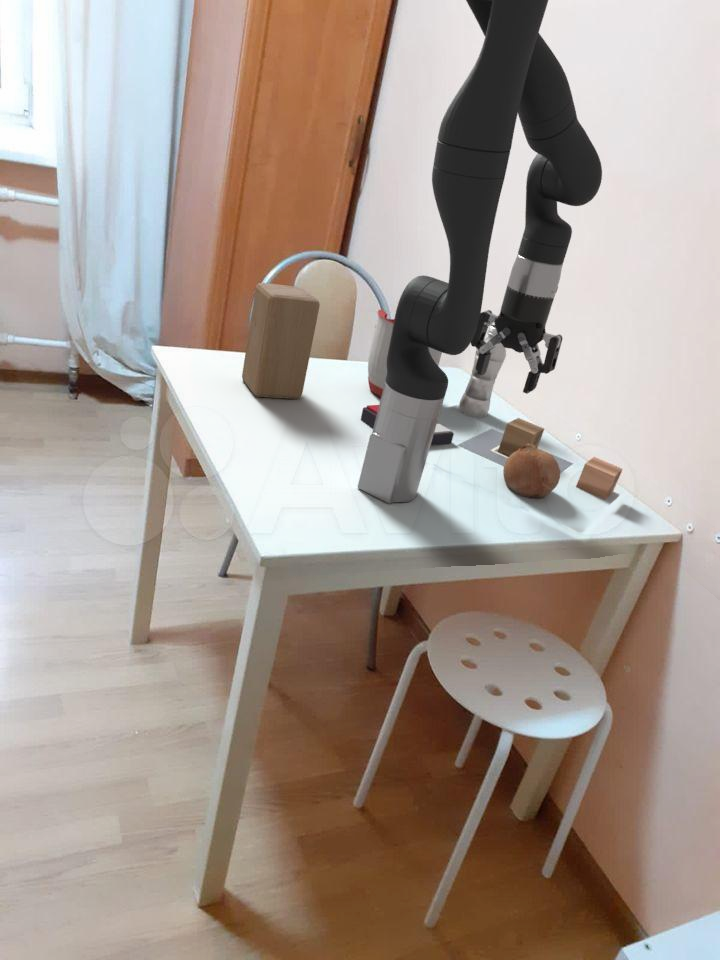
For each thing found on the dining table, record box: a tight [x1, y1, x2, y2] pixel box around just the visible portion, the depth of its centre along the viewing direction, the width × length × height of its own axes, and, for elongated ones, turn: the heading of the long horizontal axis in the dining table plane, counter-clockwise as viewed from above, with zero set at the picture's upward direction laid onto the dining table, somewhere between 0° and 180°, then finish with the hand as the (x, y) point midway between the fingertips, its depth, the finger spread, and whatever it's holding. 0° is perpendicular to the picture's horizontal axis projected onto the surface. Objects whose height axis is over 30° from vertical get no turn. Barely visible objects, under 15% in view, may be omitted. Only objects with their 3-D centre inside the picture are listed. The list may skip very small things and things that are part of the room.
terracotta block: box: [575, 456, 623, 501], centre depth 130 cm, size 6×6×6 cm
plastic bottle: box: [458, 324, 507, 419], centre depth 151 cm, size 6×7×20 cm
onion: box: [502, 443, 561, 500], centre depth 123 cm, size 10×9×10 cm
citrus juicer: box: [367, 308, 443, 398], centre depth 154 cm, size 16×17×20 cm
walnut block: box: [498, 417, 545, 457], centre depth 137 cm, size 6×6×6 cm
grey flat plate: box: [457, 428, 574, 474], centre depth 138 cm, size 16×18×1 cm
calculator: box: [360, 404, 455, 447], centre depth 137 cm, size 11×4×15 cm
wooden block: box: [241, 282, 321, 400], centre depth 139 cm, size 10×10×20 cm
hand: (503, 383), depth 120 cm, fingers open, 8 cm apart
